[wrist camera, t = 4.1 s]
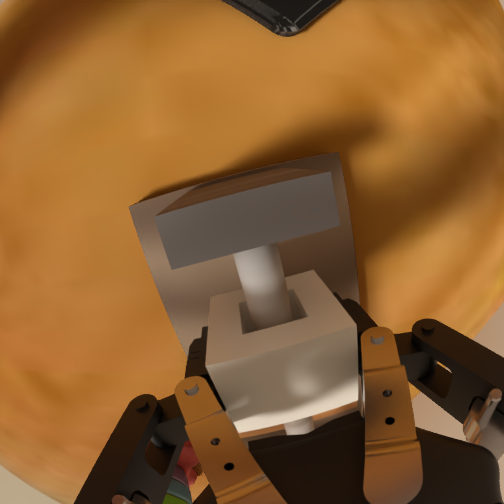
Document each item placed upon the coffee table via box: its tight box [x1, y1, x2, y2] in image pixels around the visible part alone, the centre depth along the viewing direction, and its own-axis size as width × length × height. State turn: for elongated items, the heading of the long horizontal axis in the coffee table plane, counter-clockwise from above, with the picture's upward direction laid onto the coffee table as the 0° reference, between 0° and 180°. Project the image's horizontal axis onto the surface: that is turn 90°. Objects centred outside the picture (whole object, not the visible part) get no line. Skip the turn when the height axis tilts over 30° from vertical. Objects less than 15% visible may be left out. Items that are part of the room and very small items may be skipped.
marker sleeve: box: [205, 270, 358, 433], centre depth 11 cm, size 4×5×5 cm
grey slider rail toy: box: [129, 152, 362, 449], centre depth 16 cm, size 26×12×9 cm, turn 14°
